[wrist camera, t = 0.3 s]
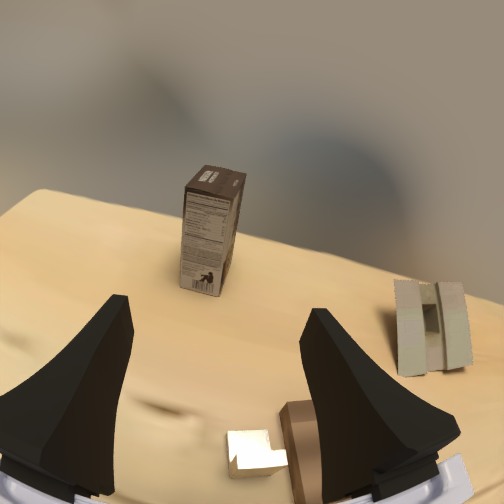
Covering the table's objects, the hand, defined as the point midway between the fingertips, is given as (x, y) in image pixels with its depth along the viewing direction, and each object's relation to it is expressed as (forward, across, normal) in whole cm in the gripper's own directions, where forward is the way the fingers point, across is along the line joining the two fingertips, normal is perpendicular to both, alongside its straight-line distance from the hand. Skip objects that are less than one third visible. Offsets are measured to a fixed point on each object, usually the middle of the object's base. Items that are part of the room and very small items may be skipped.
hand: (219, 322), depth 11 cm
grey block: (0, -4, +21) cm, 21 cm away
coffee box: (+28, 0, +19) cm, 34 cm away
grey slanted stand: (+14, -35, +21) cm, 43 cm away
